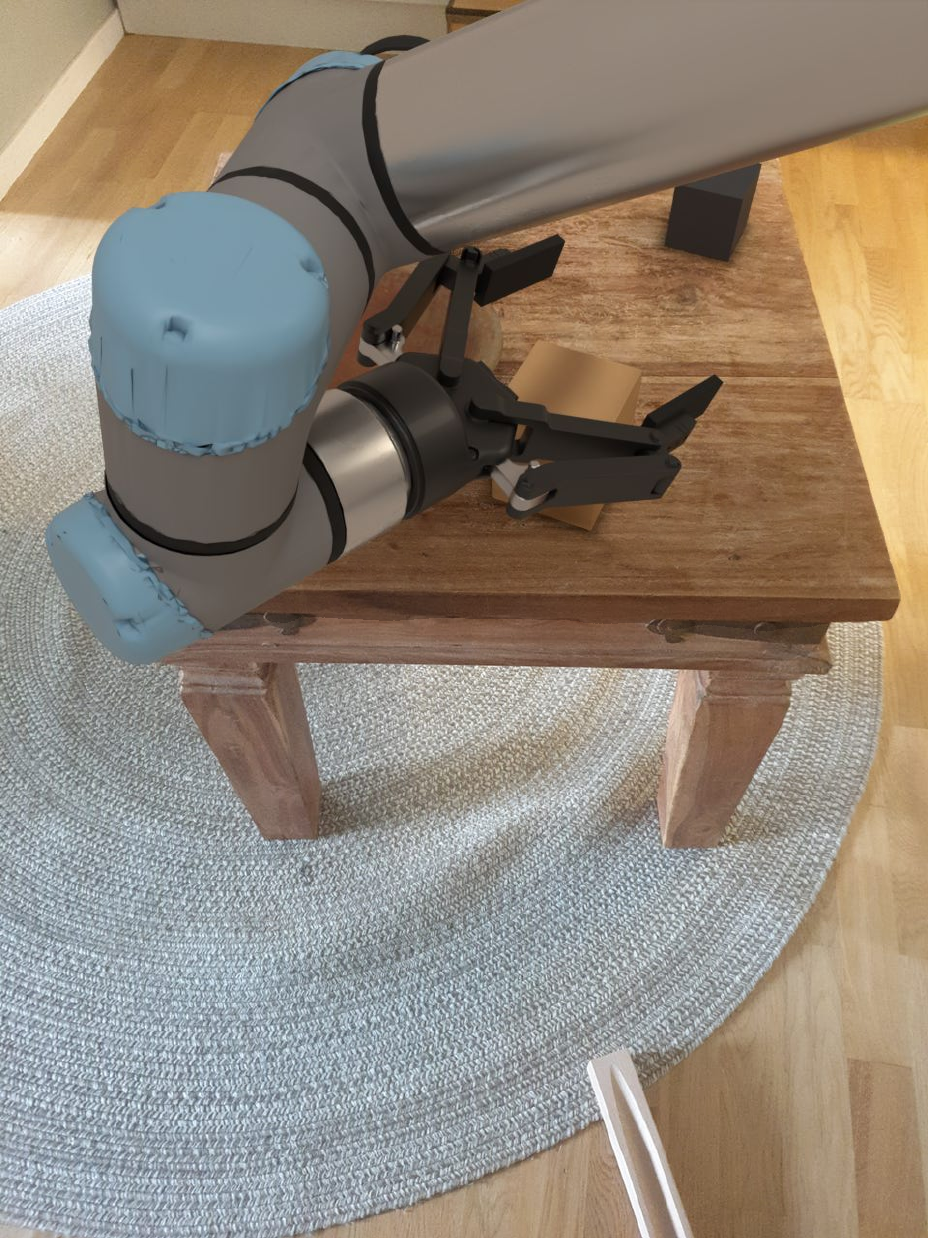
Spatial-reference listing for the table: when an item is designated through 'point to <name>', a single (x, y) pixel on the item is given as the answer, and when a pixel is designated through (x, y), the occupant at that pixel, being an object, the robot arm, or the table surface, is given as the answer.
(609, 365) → the push block
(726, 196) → the block
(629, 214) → the table surface
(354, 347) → the bowl
